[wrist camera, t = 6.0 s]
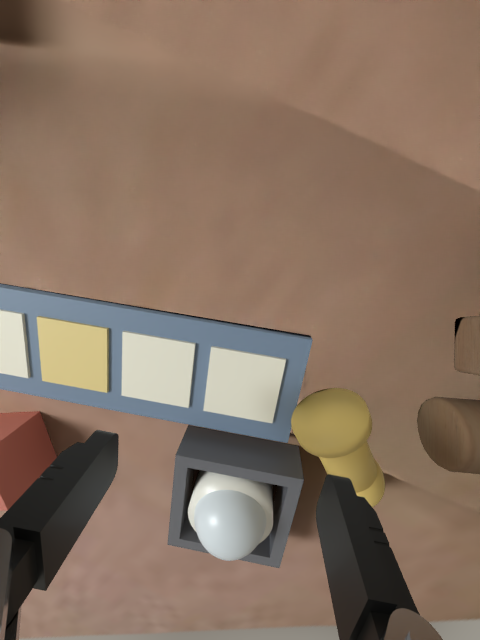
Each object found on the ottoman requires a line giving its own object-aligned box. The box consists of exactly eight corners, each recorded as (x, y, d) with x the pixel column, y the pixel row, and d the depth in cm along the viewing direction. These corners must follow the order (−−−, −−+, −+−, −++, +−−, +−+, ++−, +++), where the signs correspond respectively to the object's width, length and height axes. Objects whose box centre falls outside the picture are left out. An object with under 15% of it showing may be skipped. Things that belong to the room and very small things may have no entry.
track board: (310, 335, 17) (313, 341, 16) (286, 434, 19) (287, 445, 18) (-52, 274, 18) (-70, 276, 17) (-34, 374, 20) (-49, 381, 19)
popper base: (298, 446, 19) (303, 479, 16) (277, 526, 21) (279, 568, 19) (188, 425, 19) (175, 454, 17) (179, 507, 22) (167, 544, 19)
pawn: (314, 383, 18) (346, 454, 21) (277, 431, 16) (317, 506, 18) (380, 396, 15) (410, 480, 17) (345, 460, 13) (384, 548, 15)
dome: (278, 458, 19) (282, 527, 15) (265, 515, 21) (265, 593, 16) (202, 444, 19) (182, 507, 15) (194, 501, 21) (175, 574, 16)
